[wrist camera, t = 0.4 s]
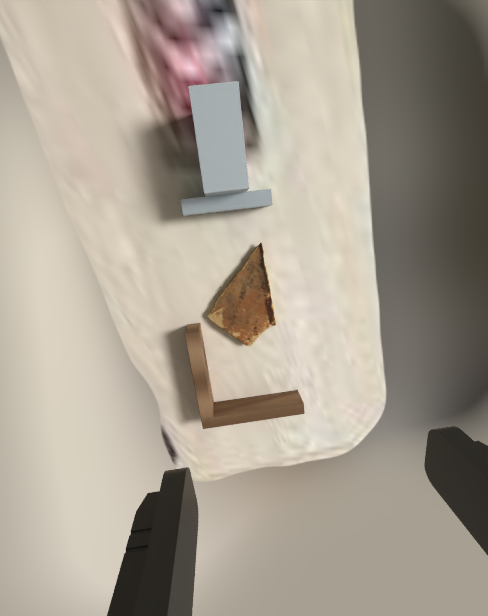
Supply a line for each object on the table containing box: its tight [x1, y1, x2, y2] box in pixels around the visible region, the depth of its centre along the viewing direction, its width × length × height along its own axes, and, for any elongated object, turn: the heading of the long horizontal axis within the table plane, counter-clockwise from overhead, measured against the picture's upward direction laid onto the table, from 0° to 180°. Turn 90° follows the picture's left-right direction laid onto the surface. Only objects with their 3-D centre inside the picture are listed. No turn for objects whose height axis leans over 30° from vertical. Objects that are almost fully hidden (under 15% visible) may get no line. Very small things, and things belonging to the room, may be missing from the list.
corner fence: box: [185, 323, 304, 429], centre depth 35 cm, size 13×13×3 cm
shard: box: [207, 243, 276, 346], centre depth 34 cm, size 11×8×2 cm
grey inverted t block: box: [180, 81, 272, 216], centre depth 27 cm, size 10×9×6 cm
